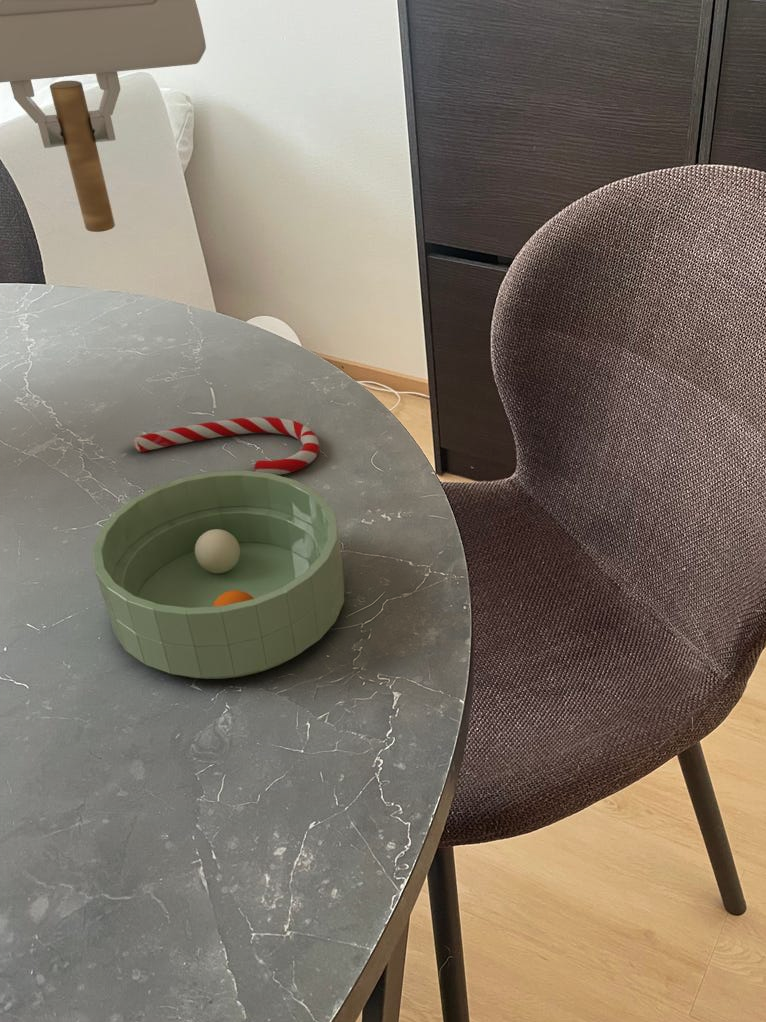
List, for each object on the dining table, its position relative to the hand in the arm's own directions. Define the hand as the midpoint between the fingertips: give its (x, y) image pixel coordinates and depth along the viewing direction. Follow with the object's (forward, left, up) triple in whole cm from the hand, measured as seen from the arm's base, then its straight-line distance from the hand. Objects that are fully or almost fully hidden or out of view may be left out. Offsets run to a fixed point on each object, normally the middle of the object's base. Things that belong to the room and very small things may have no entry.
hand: (79, 142), depth 76 cm
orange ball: (+2, -34, -19) cm, 39 cm away
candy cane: (+6, -10, -22) cm, 25 cm away
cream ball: (+2, -27, -19) cm, 33 cm away
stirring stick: (0, 0, -6) cm, 6 cm away
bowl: (+2, -30, -21) cm, 37 cm away
